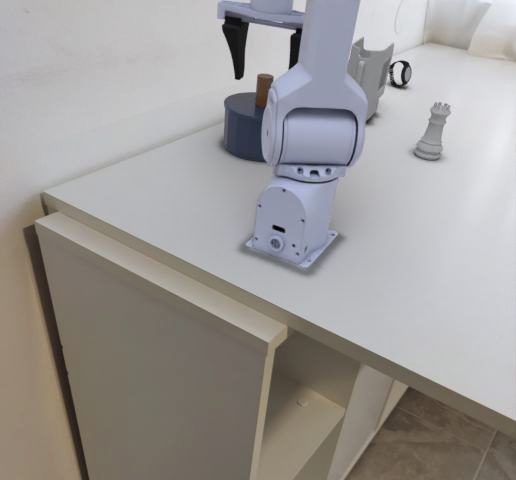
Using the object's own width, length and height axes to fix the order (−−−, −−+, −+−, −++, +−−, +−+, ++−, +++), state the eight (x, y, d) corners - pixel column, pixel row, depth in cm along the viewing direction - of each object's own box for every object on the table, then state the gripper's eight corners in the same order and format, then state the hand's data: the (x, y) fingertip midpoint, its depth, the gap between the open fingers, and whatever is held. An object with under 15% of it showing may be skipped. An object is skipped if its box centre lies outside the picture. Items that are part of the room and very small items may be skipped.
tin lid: (286, 132, 75) (291, 94, 72) (210, 115, 77) (212, 77, 74) (309, 109, 83) (315, 74, 80) (241, 94, 86) (243, 59, 82)
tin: (272, 167, 79) (277, 127, 75) (210, 148, 82) (212, 108, 78) (303, 146, 86) (309, 108, 82) (245, 128, 89) (248, 91, 85)
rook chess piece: (441, 162, 86) (458, 111, 81) (413, 158, 86) (428, 106, 81) (439, 152, 89) (455, 102, 84) (413, 148, 90) (427, 98, 84)
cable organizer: (381, 109, 103) (397, 40, 95) (364, 128, 95) (381, 54, 87) (348, 102, 105) (361, 33, 97) (329, 120, 96) (342, 46, 88)
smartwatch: (397, 90, 114) (403, 64, 111) (382, 82, 118) (388, 57, 114) (412, 89, 116) (418, 64, 113) (397, 81, 119) (403, 57, 116)
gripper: (335, -26, 70) (318, 84, 79) (231, -42, 73) (226, 67, 82) (325, -19, 65) (307, 97, 74) (213, -37, 68) (209, 79, 77)
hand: (264, 82), depth 78 cm, fingers open, 7 cm apart
